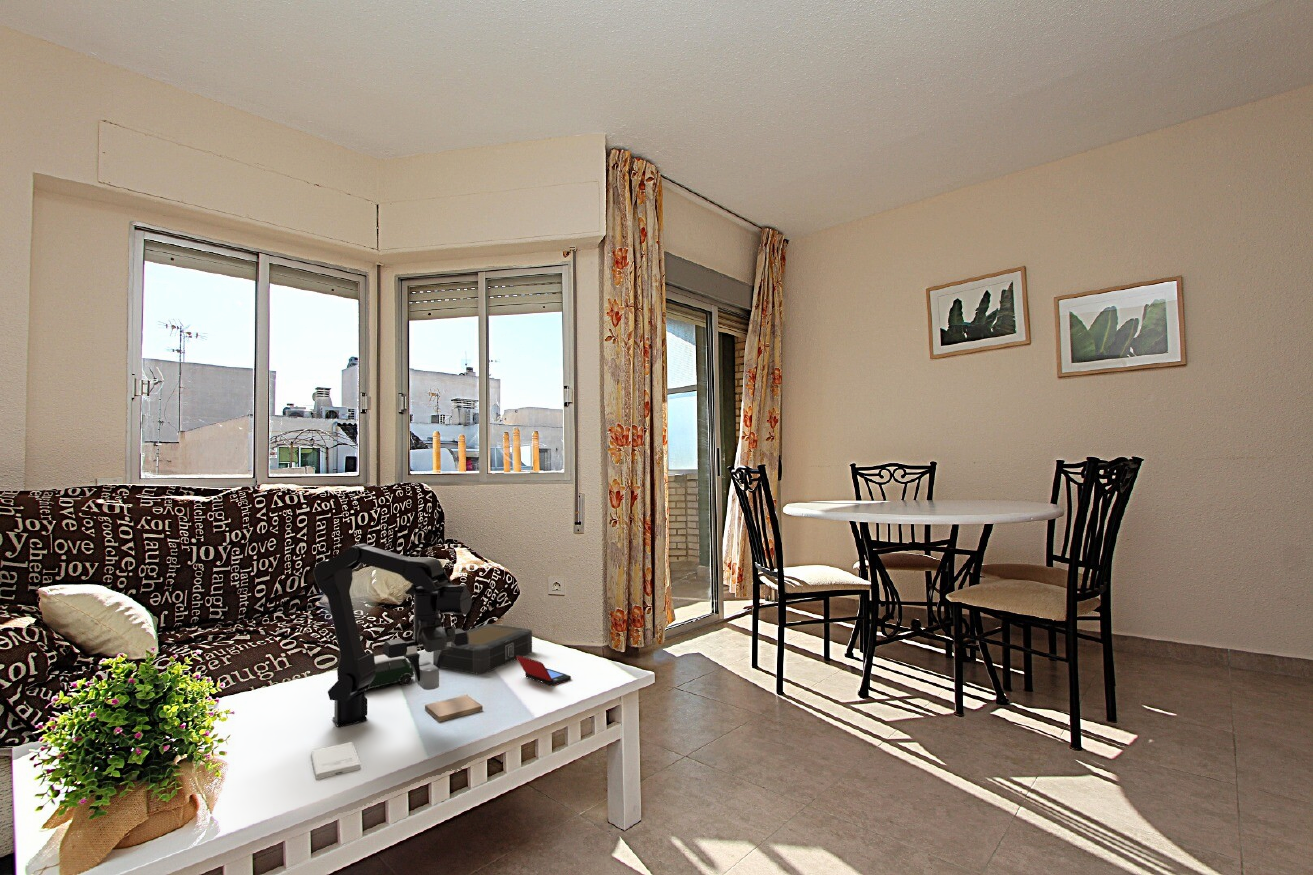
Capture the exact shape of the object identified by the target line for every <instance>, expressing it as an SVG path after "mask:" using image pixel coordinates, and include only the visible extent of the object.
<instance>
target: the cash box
mask: <svg viewBox="0 0 1313 875" xmlns="http://www.w3.org/2000/svg"><path fill="white" fill-rule="evenodd" d="M464 631H465V632H467V633H468V635H469V644H466V645H461V646H456V645H455V644H454V643H453V642H451V647H452V648H453V649H452V650H451V651H449V652H448V653H447V654H446V655H445V657H444V659H443V661H442V664H441V667H440V669H441V668H442V669H448V670H453V671H459V672H464V673H472V674H476V673H477V674H478V675H482V674H486V673H489V672H490V671H493V670H495V669H498V668H500V667H502V666H504V665H506V664H509V663H511V662H513V661H515V660H518V659H517V657H516V656H517V655H519V656H523V657H526V656H527V655H529V653H530V654H531V653H532V652H533V630H531V629H529V628H523V627H516V626H507V625H502V624H491V623H485V624H483V625H480V626H478V627H473V628H471V629H468V630H464Z"/></svg>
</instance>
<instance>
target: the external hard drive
mask: <svg viewBox="0 0 1313 875" xmlns="http://www.w3.org/2000/svg"><path fill="white" fill-rule="evenodd" d="M354 745H355V744H354V742H350V741H349V742H346V743H342V744H337V745H332V746H327V747H323V748H317V749H313V750H311V752H310V758H311V762H312V766H313V771H314V776H315V779H316V780H320V779H323V778H327V777H332V776H336V775H340V774H344V773H349V772H353V771H357V770H361V769H362V764H361V761H360V759H359V758H360V757H358V754H357V751H356V748H355V746H354Z"/></svg>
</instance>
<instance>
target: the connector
mask: <svg viewBox="0 0 1313 875" xmlns="http://www.w3.org/2000/svg"><path fill="white" fill-rule="evenodd" d="M419 666H420V681H419V682H418V681H417V679H416V677H415V676H414V683H416V684H417V685H418V686H419V687H420V688H422V689H423V690H424V691H432V690H435V689H439V687H440V670H439V668H438V667H436V666H435V665H434V664H433V662H431V661H424V660H423V661H419ZM413 673H414V671H413Z"/></svg>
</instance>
